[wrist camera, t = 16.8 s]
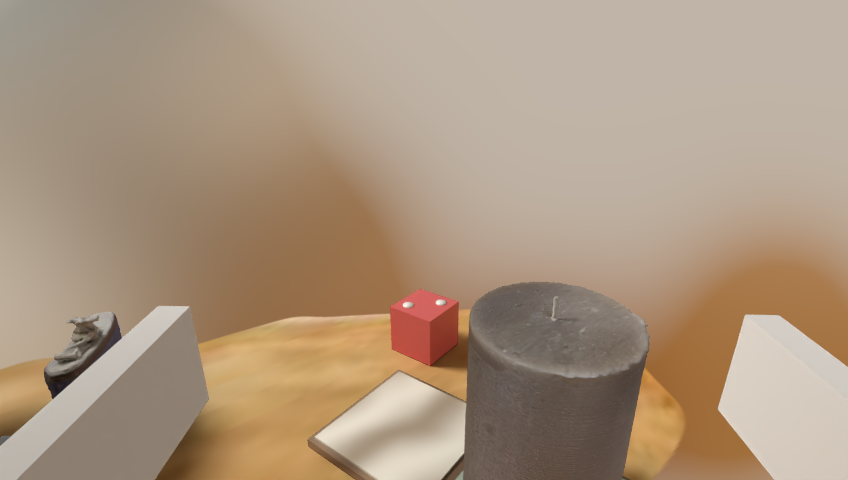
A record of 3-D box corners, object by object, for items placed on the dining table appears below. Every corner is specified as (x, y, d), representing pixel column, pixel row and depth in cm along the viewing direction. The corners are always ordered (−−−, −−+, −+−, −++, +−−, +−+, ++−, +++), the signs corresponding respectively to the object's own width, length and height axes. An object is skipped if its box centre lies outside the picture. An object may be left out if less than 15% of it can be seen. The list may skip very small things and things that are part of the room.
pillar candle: (451, 449, 35) (452, 267, 29) (575, 435, 36) (600, 257, 30) (482, 586, 26) (493, 360, 20) (647, 562, 27) (701, 342, 21)
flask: (113, 399, 42) (81, 293, 38) (149, 393, 43) (122, 288, 39) (72, 482, 33) (26, 357, 30) (118, 472, 34) (79, 349, 30)
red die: (391, 348, 49) (390, 305, 47) (420, 328, 52) (420, 288, 51) (430, 366, 46) (429, 320, 44) (457, 343, 50) (458, 300, 48)
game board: (308, 446, 36) (307, 437, 36) (398, 375, 44) (398, 367, 44) (588, 642, 24) (590, 631, 23) (643, 494, 32) (644, 484, 32)
